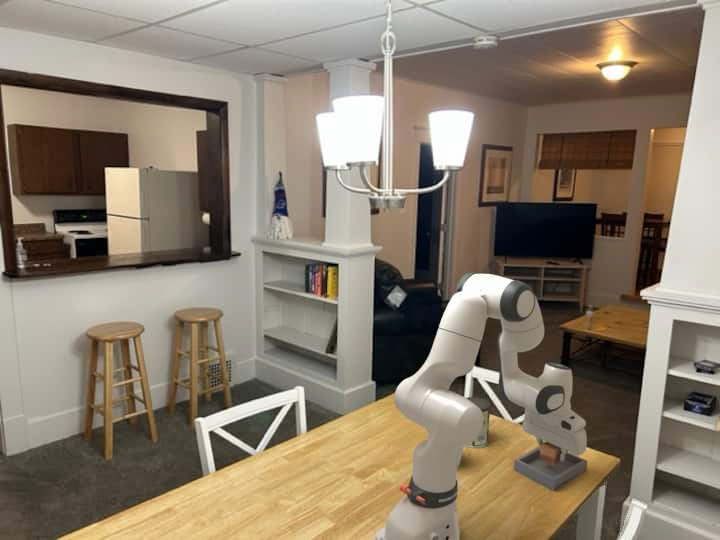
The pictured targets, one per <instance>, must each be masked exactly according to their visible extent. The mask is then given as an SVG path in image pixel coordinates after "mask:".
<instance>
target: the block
mask: <svg viewBox="0 0 720 540" xmlns="http://www.w3.org/2000/svg"><path fill="white" fill-rule="evenodd" d="M560 453H562V451H561V448H560V447H557V446H555V445H553V444H551V443H549V442H546V441H544V442H543V444H541V446H540V460H542V461H544V462H546V463H548V464H550V465H552V466H555V465H557V464H559V463H560V462H562V461H560V460H558V459H557V458H558V457H557V455H558V454H560Z"/></svg>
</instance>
